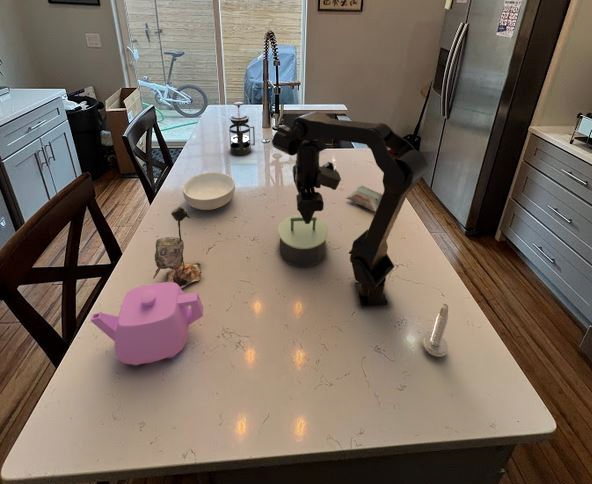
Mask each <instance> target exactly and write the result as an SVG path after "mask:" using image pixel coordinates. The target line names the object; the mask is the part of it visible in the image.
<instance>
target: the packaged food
mask: <svg viewBox="0 0 592 484" xmlns="http://www.w3.org/2000/svg"><path fill="white" fill-rule="evenodd" d="M382 195H383V193H381V192H378V191H376V190H373V189H370V188H369V187H367V186H365V185H360V186H358V187H357V188H356V189H355V190H354V191H353V192H352V193H351V194H349V195H347V196H345V197H344V199H346V200H349V201H350V202H352V203H354V204H356V205H360V206H362V207H363V208H365V209H369V210H370V211H372V212H376V210H377V207H378V205H379V202H380V200H381V198H382Z"/></svg>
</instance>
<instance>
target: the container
mask: <svg viewBox="0 0 592 484" xmlns="http://www.w3.org/2000/svg"><path fill="white" fill-rule="evenodd" d="M326 242H327V239H326V240H325V241H324V242H323V243H322V244H321V245H319V246H317V247H315V248H311V249H297V248H293V247H291V246H289V245H287V244H285V243H284V242H283V241H282V240H281V239H280V238H279V253H280V256H281V257H282V259H283V260H284V261H285V262H287V264H290V265H292V266H295V267H300V268H301V267H302V268H304V267H305V268H306V267H311V266H314V265H316V264H317V263H319V262H320V261H321V260H323V258H324V256H325V251H326Z"/></svg>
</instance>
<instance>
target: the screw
mask: <svg viewBox="0 0 592 484" xmlns="http://www.w3.org/2000/svg"><path fill="white" fill-rule="evenodd" d="M442 305H443V306H442V307H441V309H439V310H440V311H438V313H437V315H436V319H435V322H434V327H433V330H432V331H427V332H426V333H424V334H423V335H422V338H421V342H422V345H423V347H424V348H425V350H426V351H427V352H428V354H429V355H430V356H433V357H434V358H435V357H436V358H437V357H438V358H439V357H440V358H442V357H444V356H446V355H447V353H448V351H449V346H448V343H447V341H446V340H445V338H444V334H445V330H446V326H447V324H448V319H449V305H448V304H447V303H443V304H442Z"/></svg>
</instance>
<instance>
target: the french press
mask: <svg viewBox="0 0 592 484" xmlns="http://www.w3.org/2000/svg"><path fill="white" fill-rule="evenodd" d="M233 105H234V106H237V107H236V108H237V113H236V112H234V113H231V114H230V115H228V117H227V118H228V120H230V122H231V123H232V124H230V125H229V127H228V135H229V136H230V138H229V154H230V155H232V156H234V157H246V156H248V155H250V154H251V153H252V148H251V146H255V145H256V144H255V143H256V140H255V135H256V133H255V126H254V125H249V124H248V123H249V120H250V115H249V114H248V113H245V112H244V113H243V112H240V107H241V106H243V105H244V103H243V102H241V101H237V102H234V103H233ZM235 127H236V130H234V129H233V128H235ZM241 127H245V128H247V129H244V130H241ZM251 129H252V134H253V135H252V136H253V141H252V142H251ZM231 134H234V135H232V136H231ZM245 134H248V135H245Z"/></svg>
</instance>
